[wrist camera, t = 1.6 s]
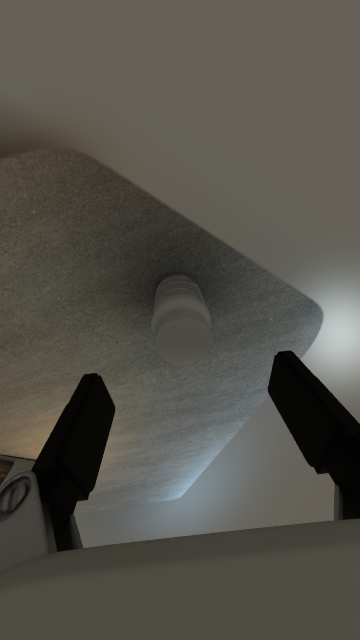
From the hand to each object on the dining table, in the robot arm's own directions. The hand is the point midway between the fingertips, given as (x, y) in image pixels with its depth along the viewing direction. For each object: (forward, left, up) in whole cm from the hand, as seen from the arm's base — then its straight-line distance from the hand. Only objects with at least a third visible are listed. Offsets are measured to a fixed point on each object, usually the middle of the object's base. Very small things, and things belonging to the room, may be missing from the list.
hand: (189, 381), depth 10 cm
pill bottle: (0, 0, -11) cm, 11 cm away
